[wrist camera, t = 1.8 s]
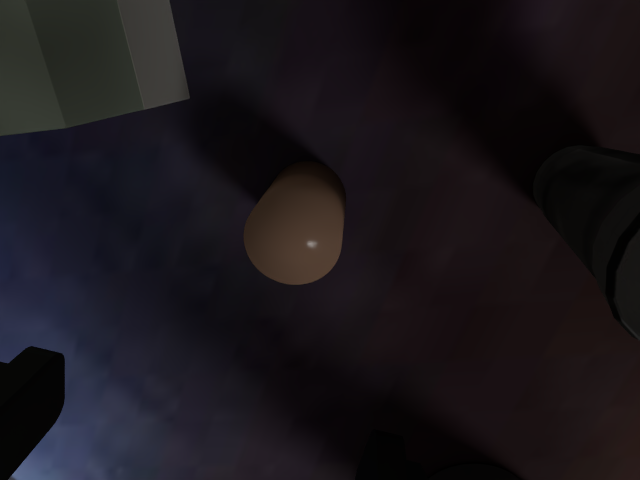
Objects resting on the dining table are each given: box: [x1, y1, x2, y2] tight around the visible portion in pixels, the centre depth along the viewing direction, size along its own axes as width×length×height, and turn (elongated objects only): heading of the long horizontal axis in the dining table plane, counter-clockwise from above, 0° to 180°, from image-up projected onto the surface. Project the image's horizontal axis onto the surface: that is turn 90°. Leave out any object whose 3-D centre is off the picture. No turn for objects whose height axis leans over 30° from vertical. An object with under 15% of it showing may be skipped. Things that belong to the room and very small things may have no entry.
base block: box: [117, 0, 190, 110], centre depth 23 cm, size 6×6×6 cm
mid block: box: [0, 0, 144, 136], centre depth 17 cm, size 6×6×6 cm
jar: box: [244, 161, 346, 285], centre depth 25 cm, size 5×5×7 cm
